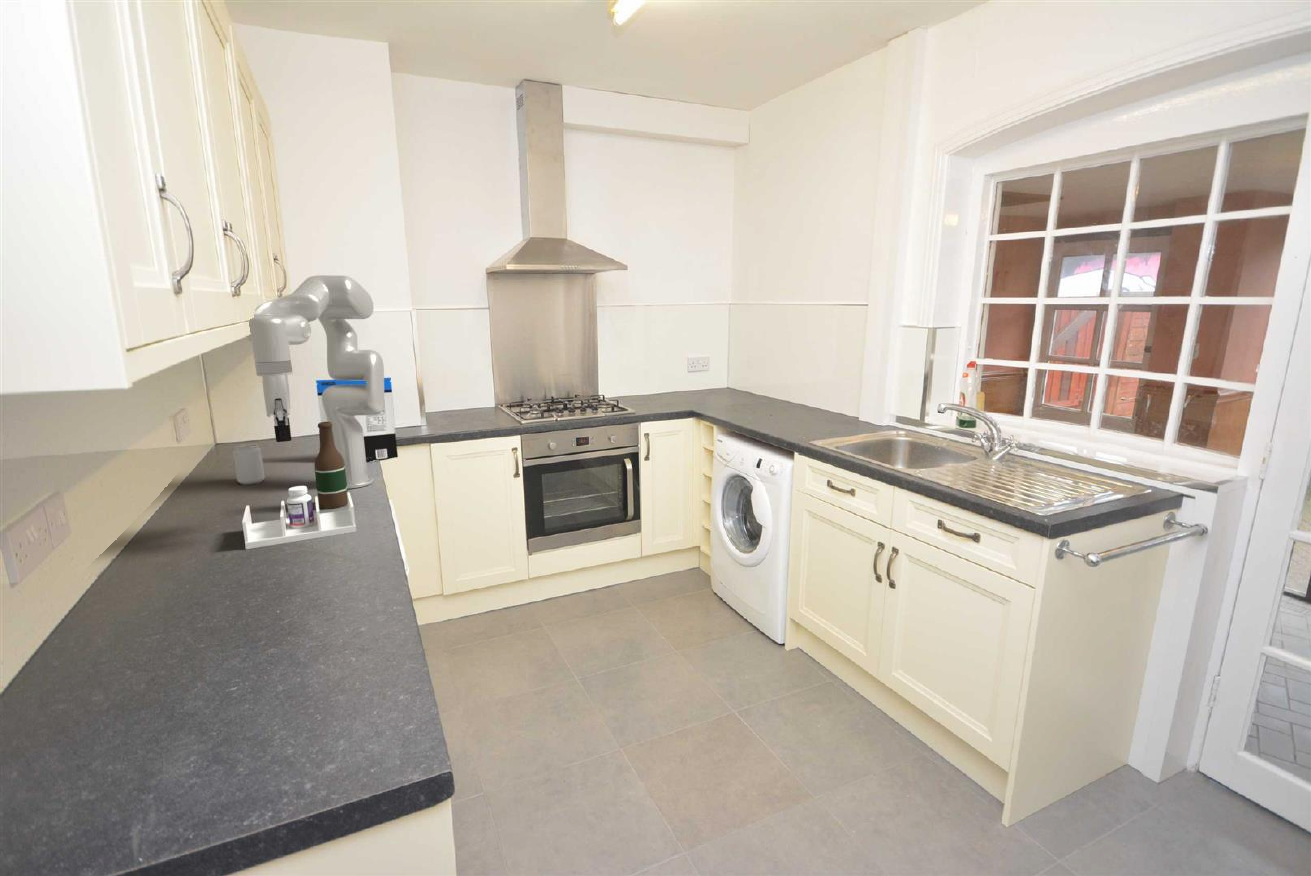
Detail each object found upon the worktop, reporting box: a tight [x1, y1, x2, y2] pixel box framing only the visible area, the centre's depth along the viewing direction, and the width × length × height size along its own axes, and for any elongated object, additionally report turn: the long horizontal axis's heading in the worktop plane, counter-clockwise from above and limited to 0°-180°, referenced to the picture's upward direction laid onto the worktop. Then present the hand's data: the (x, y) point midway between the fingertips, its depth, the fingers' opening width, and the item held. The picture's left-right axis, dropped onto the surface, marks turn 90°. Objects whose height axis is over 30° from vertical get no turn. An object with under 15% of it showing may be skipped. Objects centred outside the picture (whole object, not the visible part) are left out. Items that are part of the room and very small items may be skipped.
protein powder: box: [315, 377, 399, 463], centre depth 225 cm, size 10×24×30 cm, turn 111°
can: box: [232, 443, 265, 485], centre depth 199 cm, size 8×8×12 cm
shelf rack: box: [241, 491, 357, 550], centre depth 156 cm, size 15×23×6 cm, turn 120°
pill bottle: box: [286, 485, 315, 528], centre depth 155 cm, size 5×5×10 cm
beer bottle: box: [313, 421, 349, 510], centre depth 174 cm, size 8×8×24 cm
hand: (283, 437), depth 154 cm, fingers open, 9 cm apart
